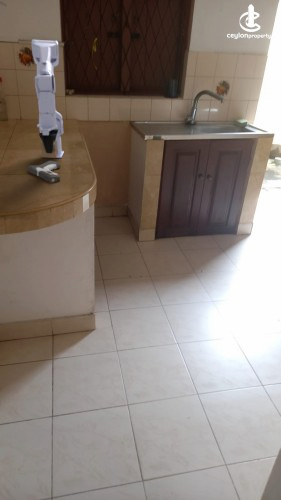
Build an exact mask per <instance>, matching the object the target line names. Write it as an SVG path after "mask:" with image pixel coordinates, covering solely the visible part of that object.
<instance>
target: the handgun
mask: <svg viewBox="0 0 281 500" xmlns="http://www.w3.org/2000/svg"><path fill="white" fill-rule="evenodd" d="M58 168H59V169H60V168H61V165H60V163H59V162H57V161H53V160H48V161H46V162H44V163H42V164H39V165H38V164H37V165H35V164H34V165H33V164H31V165H28V166H27V172H28V171H29V173H30V172H31V173H30V174H32V173H33V174H32V175H34V174H35V176H36V175H37V177H38V176H39V177H38V178H40V177H41V179H42V178H43V179H42V180H44V179H45V181H46V180H47V182H48V181H49V182H48V183H51V184H52V183H56V182H59V181H61V177H60V176H58V175H59V174H58V173H56V172H53V171H54V170H58ZM53 169H54V170H53ZM51 170H52V171H51Z"/></svg>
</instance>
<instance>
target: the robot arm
mask: <svg viewBox="0 0 281 500" xmlns="http://www.w3.org/2000/svg"><path fill="white" fill-rule="evenodd" d="M59 49H60V48H59V42H58V40H47V39H46V40H45V39H44V40H42V39H32V40H31V53H32V57H33V61H34V63H35V64H36V76H34V86H35V92H36V98H37V99H38V100H37V102H38V112H39V116H38V123H37V124H36V127H37V128H39V129H38V130H39V133H38V136H39V138H40V140H41V142H43V144H44V147H45V151H46V153H52V152H53V142H54V141H57V148H58V155H57V157H56V158H57V159H62V158H63V156H64V153H65V151H64V150H63V149H62V148H63V147H62V137H61V135H63V134H64V121H63V116H62V114H61V113H60V112H58V111H57V109H56V96H55V94H56V79H55V74H54V69H55V67H57V66H58V65H59V63H60V59H59V58H60V53H59ZM56 158H55V159H56Z"/></svg>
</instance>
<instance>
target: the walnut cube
mask: <svg viewBox="0 0 281 500" xmlns="http://www.w3.org/2000/svg"><path fill="white" fill-rule="evenodd" d="M40 150H41V157H42V158H53V159H56V157H57V155H58V148H57V141H54V142H53V152H52V153H46V151H45V147H44V144H43V141H41V142H40Z"/></svg>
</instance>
